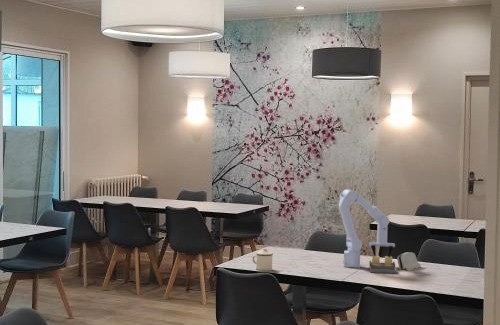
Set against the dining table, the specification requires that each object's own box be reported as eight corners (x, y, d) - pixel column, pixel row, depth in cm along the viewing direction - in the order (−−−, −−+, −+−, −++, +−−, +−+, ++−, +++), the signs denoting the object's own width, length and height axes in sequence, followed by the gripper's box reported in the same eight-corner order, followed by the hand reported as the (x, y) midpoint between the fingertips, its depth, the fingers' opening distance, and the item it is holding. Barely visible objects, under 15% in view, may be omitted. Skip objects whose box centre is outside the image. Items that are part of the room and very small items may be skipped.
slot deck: (369, 269, 378) (369, 263, 377) (369, 266, 386) (369, 260, 386) (395, 270, 375) (395, 264, 375) (394, 267, 384) (394, 261, 384)
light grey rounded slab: (407, 270, 376) (402, 253, 378) (400, 272, 379) (395, 255, 381) (421, 266, 388) (416, 250, 390) (414, 268, 391) (409, 251, 393)
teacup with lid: (275, 269, 372) (275, 248, 372) (267, 271, 364) (268, 250, 364) (256, 266, 378) (256, 246, 378) (248, 269, 370) (248, 248, 370)
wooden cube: (372, 263, 381) (372, 256, 381) (372, 262, 385) (372, 255, 385) (379, 264, 381) (379, 256, 380) (379, 262, 385) (379, 255, 384)
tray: (370, 272, 367) (370, 269, 367) (369, 269, 377) (369, 265, 377) (396, 273, 365) (396, 270, 365) (395, 270, 375) (395, 267, 375)
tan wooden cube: (384, 264, 380) (385, 257, 380) (384, 263, 384) (384, 256, 384) (392, 264, 380) (392, 257, 379) (391, 263, 383) (391, 256, 383)
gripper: (394, 235, 392) (393, 258, 392) (369, 234, 394) (368, 257, 394) (395, 236, 385) (394, 260, 385) (369, 235, 387) (369, 259, 387)
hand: (381, 258), depth 389 cm, fingers open, 7 cm apart
